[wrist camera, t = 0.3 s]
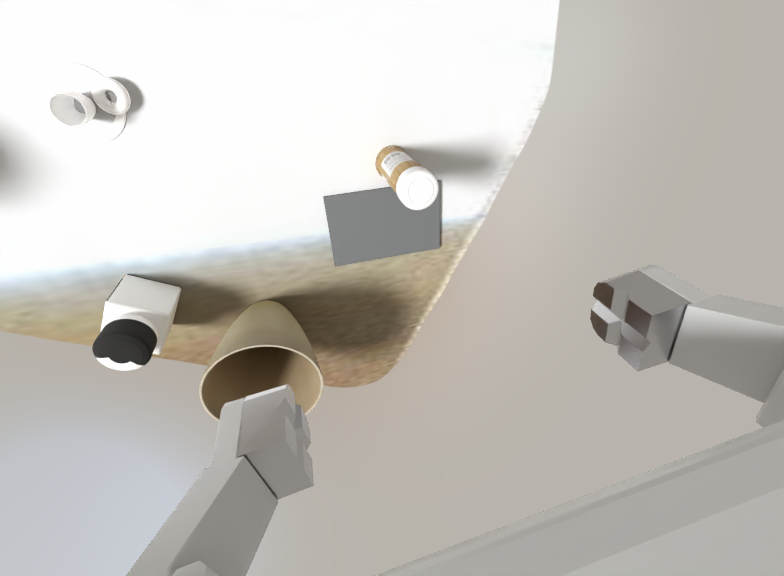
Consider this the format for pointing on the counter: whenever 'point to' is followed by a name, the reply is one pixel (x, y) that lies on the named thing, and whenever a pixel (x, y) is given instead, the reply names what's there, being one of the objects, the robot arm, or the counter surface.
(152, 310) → the medicine bottle
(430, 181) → the sprinkles bottle
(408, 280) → the counter surface
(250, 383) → the plant pot
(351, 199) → the mat
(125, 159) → the counter surface
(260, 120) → the counter surface
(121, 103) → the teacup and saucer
